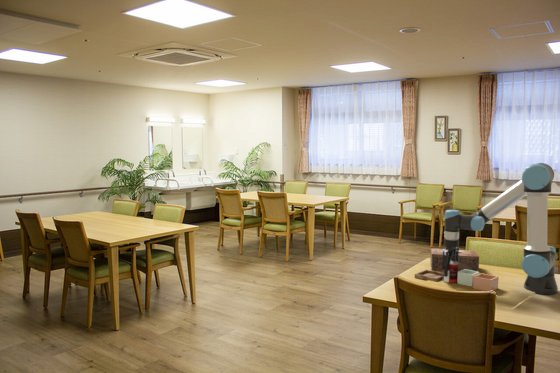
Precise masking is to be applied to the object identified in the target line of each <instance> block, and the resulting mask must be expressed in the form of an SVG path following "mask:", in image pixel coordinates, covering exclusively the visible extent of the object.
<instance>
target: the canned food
mask: <svg viewBox="0 0 560 373" xmlns="http://www.w3.org/2000/svg"><path fill="white" fill-rule="evenodd" d="M442 273H443V275H442V279H441V280H442V281H443V282H444V270H442ZM457 279H458V262H457V261H450V266H449V283H450V284H456V283H457ZM449 283H448V284H449Z"/></svg>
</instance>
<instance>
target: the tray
mask: <svg viewBox="0 0 560 373" xmlns="http://www.w3.org/2000/svg"><path fill="white" fill-rule="evenodd" d="M442 275H443V272H439V271H436V270H431V269H424V270H422V271H420V272H417V273H414V278H416V279H419V280H424V281H433V282H439V281H441V280H442Z"/></svg>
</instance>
